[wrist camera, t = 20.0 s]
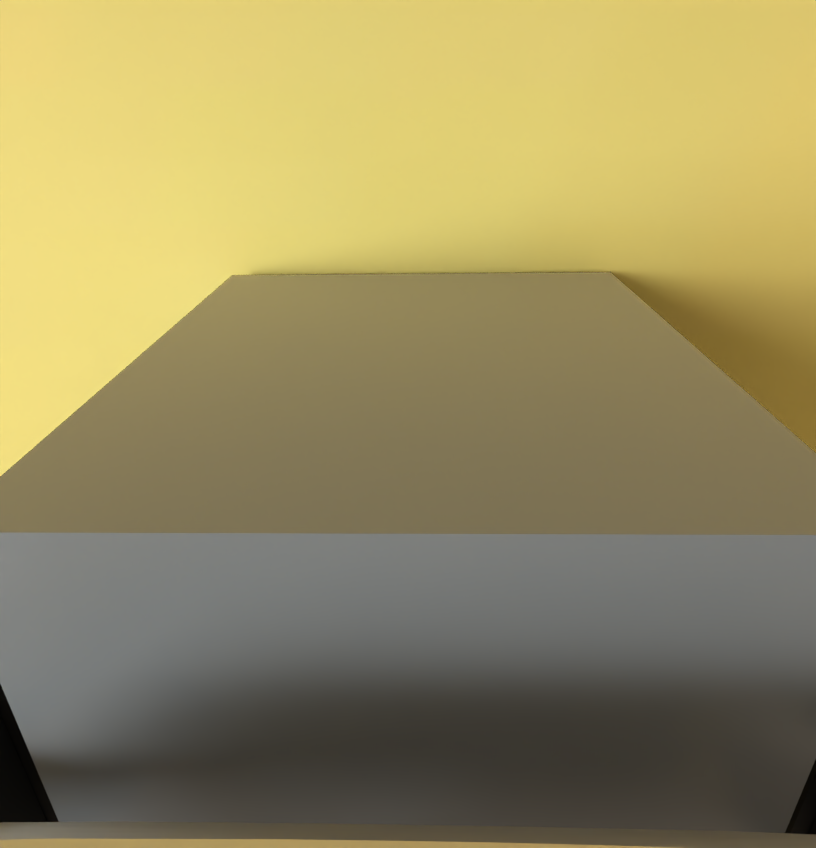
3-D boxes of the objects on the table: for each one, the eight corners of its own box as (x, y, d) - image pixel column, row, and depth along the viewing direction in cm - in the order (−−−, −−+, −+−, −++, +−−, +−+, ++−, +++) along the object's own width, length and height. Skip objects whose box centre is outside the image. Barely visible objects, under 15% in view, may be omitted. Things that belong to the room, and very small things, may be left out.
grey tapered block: (232, 274, 13) (-64, 532, 5) (610, 272, 13) (907, 534, 5) (273, 571, 16) (133, 998, 9) (571, 572, 16) (709, 1011, 8)
